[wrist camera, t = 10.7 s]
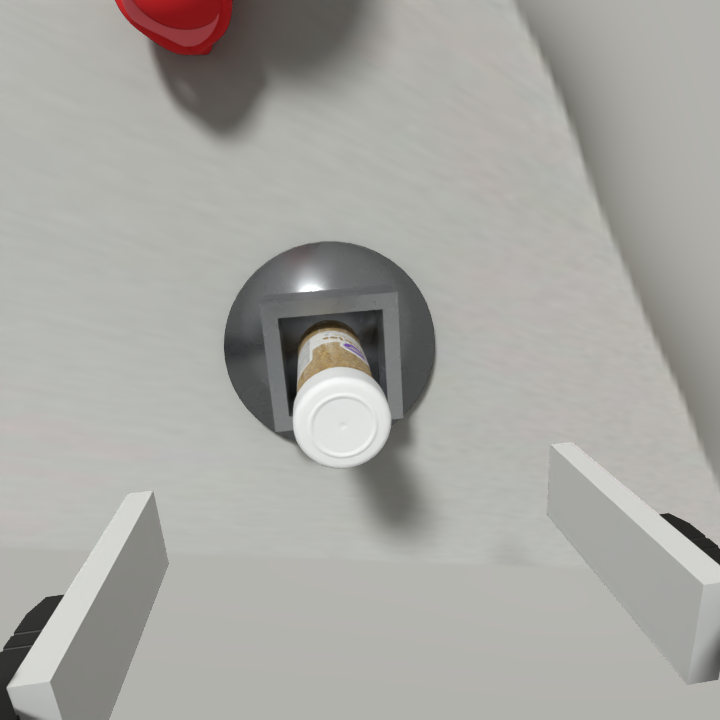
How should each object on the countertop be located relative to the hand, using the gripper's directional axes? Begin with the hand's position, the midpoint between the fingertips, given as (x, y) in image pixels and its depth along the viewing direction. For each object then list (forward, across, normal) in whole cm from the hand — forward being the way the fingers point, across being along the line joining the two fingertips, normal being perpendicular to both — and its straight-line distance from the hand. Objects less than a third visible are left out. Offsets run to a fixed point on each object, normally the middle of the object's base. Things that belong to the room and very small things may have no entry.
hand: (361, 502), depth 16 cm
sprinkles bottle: (+20, 0, 0) cm, 20 cm away
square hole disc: (+21, 0, 0) cm, 21 cm away
